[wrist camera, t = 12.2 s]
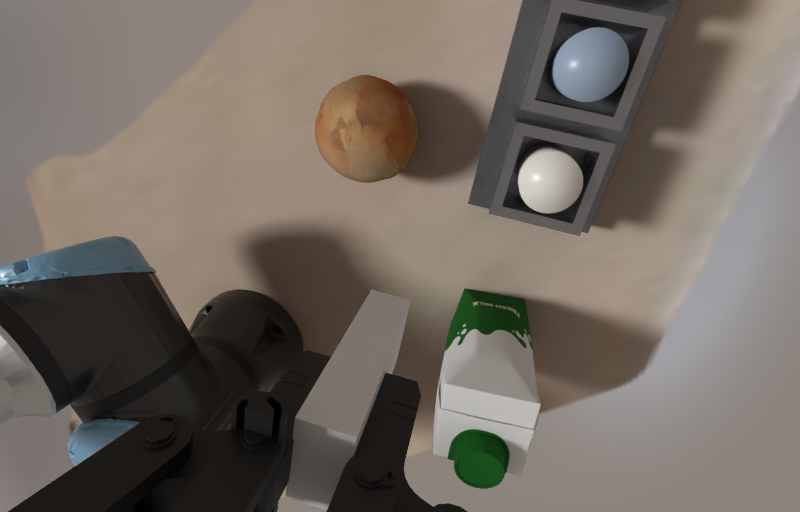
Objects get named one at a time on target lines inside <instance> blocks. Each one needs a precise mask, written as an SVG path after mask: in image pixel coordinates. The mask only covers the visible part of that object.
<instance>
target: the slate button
mask: <svg viewBox="0 0 800 512" xmlns="http://www.w3.org/2000/svg"><path fill="white" fill-rule="evenodd" d="M628 65H629V52H628V48H627V46H626V43H625V42H624V40H623V39H622V38H621V36H619V35H618V34H617V33H616V32H614V31H612V30H610V29H607V28H601V27H595V28H589V29H586V30H583V31H581V32H579V33H577V34H575V35H574V36H572V37H570V38H568V39H566V40H565V41H564V42H562V43H561V44H560V45H559V46H558V48H557V49H556V50H555V52H554V53H553V55H552V57H551V60H550V63H549V79H550V82H551V84H552V86H553V88H554V89H555V90H556V91H557V92H558V93H559V94H560V95H562V96H564V97H567V98H570V99H573V100H576V101H580V102H593V101H597V100H600V99H602V98H604V97H606V96H608V95H609V94H611V93H612V92H613V91H614V90H615V89H616V88H617V87H618V86H619V85H620V84H621V82H622V81H623V79H624V77H625V75H626V73H627V69H628Z"/></svg>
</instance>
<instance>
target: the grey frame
mask: <svg viewBox="0 0 800 512" xmlns="http://www.w3.org/2000/svg"><path fill="white" fill-rule="evenodd" d="M681 2H682V0H523V1H522V5H521V9H520V12H519V16H518V20H517V24H516V27H515V31H514V35H513V38H512V42H511V46H510V49H509V53H508V57H507V61H506V64H505V68H504V72H503V75H502V79H501V83H500V87H499V90H498V94H497V98H496V101H495V105H494V109H493V112H492V116H491V120H490V124H489V127H488V131H487V135H486V138H485V142H484V146H483V149H482V153H481V157H480V161H479V164H478V168H477V172H476V175H475V179H474V183H473V187H472V190H471V194H470V198H469V202H468V204H472V205H476V206H480V207H484V208H488V209H490V210H489V213H490V214H494V215H498V216H502V217H506V218H510V219H514V220H518V221H522V222H526V223H530V224H534V225H538V226H542V227H546V228H550V229H554V230H558V231H562V232H566V233H570V234H574V235H578V236H580V234H581V232H585V233H588V232H589V229H590V227H591V224H592V222H593V219H594V217H595V215H596V212H597V210H598V207H599V205H600V202H601V200H602V197H603V195H604V192H605V190H606V187H607V185H608V182H609V180H610V178H611V175H612V173H613V170H614V168H615V165H616V163H617V160H618V158H619V155H620V153H621V150H622V148H623V145H624V143H625V140H626V138H627V136H628V133H629V131H630V128H631V126H632V123H633V121H634V118H635V116H636V113H637V111H638V108H639V106H640V103H641V101H642V99H643V96H644V94H645V91H646V89H647V86H648V84H649V81H650V79H651V76H652V74H653V71H654V69H655V66H656V64H657V61H658V59H659V57H660V54H661V52H662V49H663V47H664V44H665V42H666V39H667V37H668V34H669V32H670V29H671V27H672V24H673V22H674V20H675V17H676V15H677V12H678V10H679V7H680V5H681ZM595 27H601V28H607V29H610V30H612V31H614V32H616V33H617V34H618V35H619V36H621V38H622V39H623V40H624V42H625V43H626V46H627V48H628V52H629V65H628V69H627V73H626V75H625V77H624V79H623V81H622V82H621V84H620V85H619V86H618V87H617V88H616V89H615V90H614V91H613V92H612V93H611V94H609V95H608V96H606V97H604V98H602V99H600V100H597V101H593V102H580V101H576V100H573V99H570V98H567V97H564V96H562V95H560V94H559V93H558V92H557V91H556V90H555V89H554V88H553V86H552V84H551V82H550V79H549V63H550V60H551V57H552V55H553V53H554V52H555V50H556V49H557V48H558V46H559V45H560V44H561V43H562V42H564V41H565V40H566V39H568V38H570V37H572V36H574V35H575V34H577V33H579V32H581V31H583V30H586V29H589V28H595ZM542 144H553V145H557V146H559V147H561V148H563V149H564V150H565V151H566V152H567V153H568V154H569V155H570V156H571V157H572V158H573V159H574V161H575V162H576V163H577V164H578V165H579V167H580V169H581V171H582V175H583V187H582V191H581V193H580V195H579V197H578V198H577V200H576V201H575V202H574V203H573V204H572V205H571V206H569V207H568V208H566V209H565V210H562V211H560V212H556V213H541V212H538V211H535V210H533V209H531V208H530V207H529V206H528V205H527V204H526V203H525V202H524V201H523V199H522V197H521V195H520V192H519V186H518V180H517V167H518V164H519V161H520V159H521V158H522V156H523V155H524V154H525V153H526V152H527V151H528V150H530V149H531V148H533V147H535V146H538V145H542Z"/></svg>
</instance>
